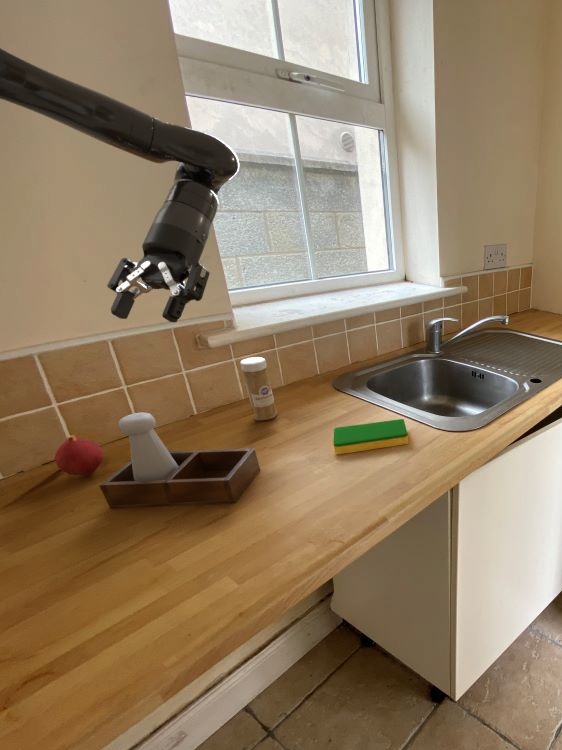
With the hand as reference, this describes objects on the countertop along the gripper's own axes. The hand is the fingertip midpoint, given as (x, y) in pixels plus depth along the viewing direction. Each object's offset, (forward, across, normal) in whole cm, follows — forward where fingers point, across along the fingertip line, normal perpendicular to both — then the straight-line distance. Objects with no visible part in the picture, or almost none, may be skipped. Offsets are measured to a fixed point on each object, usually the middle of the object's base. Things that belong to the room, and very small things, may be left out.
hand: (143, 318), depth 72 cm
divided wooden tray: (+25, +6, +13) cm, 29 cm away
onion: (+24, -13, +14) cm, 31 cm away
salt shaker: (+25, +2, +12) cm, 28 cm away
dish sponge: (+11, +30, +27) cm, 42 cm away
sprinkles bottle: (+6, +3, +32) cm, 33 cm away
